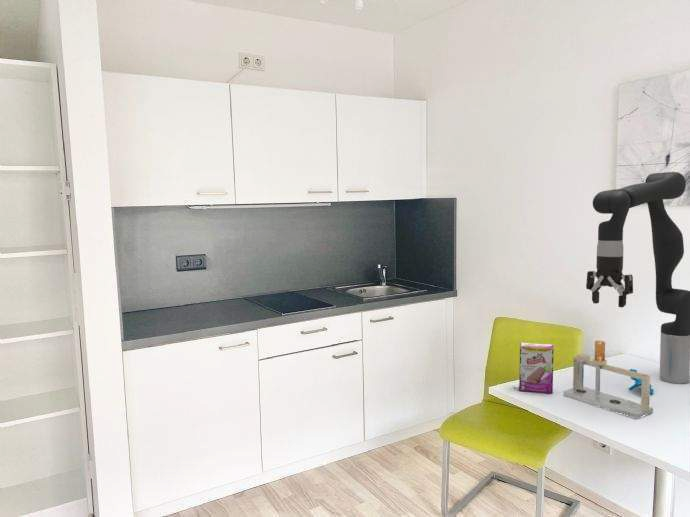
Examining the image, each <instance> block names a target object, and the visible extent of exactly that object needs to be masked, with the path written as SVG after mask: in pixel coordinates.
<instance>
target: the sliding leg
mask: <svg viewBox="0 0 690 517" xmlns="http://www.w3.org/2000/svg"><path fill="white" fill-rule="evenodd" d="M607 360H608V359H606V342H605V341H603V340H594V358H593V359H592V360H591V361H592V363H593V364H596V367H595V387H594V388H595V389H594V390H595V395H600V392H601V369H600V365H604V364H606V365H608V364H607V363H608V361H607Z"/></svg>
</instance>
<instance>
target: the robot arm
mask: <svg viewBox="0 0 690 517" xmlns="http://www.w3.org/2000/svg"><path fill="white" fill-rule="evenodd" d="M686 186H687V182H686V178H685V176H684V175H683V174H682V172H681V173H680V172H678V171H677V172H676V171H668V172H655V173H650V174H648V175H647V176H646V178H645V182H642V183H636V184H630V185H627V186H624V187H621V188H615V189H609V190H608V189H607V190H603V191H602V190H601V191H600V192H598V193H596V195H594V197H593V200H592V207H593V209H594V211H596V212H597V213H599V214H603V215H605V214H606V215H608V214H610V215H611V217H610V219H609V220H605V221H601V222H600V223H599V224H598V230H597V231H598V232H597V245H596V262H595V263H596V265H595V267H596V271H594V270H590V271H587V274H586V287H585V288H586V290H589V291H591V301H592V303H593V304H595V305H596V304H599V303H600V290H601V288H602V287H609V288H613V289H614V290H616V291H617V293H618V303H617V304H618V306H617V307H618V308H625V307H626V305H627V295H632V294H633V293H634V277H633V274H631V273H629V274H623V269H624V242H623V240H624V226H625V224H626V220H627V216H628V213H629V211H630V209H631V208H635V207H638V206H641V205H643V204H647V209H648V213H649V219H650V227H651V228H650V229H651V238H652V240H651V242H652V250H653V256H654V257H653V258H654V259H653V260H654V267H655V269H654V270H655V303H656V304H655V305H656V308H657V309H658V311H660V312H661V313H665V314H668V315H669V314H670V315H675V320H674V321H670V322H664V323H662V324H661V325H660V344H659V345H660V346H659V350H660V351H659V379H660V380H662V381H664V382H668V383H672V384H687V383H690V290H689V289H681V288H674V287H673V285H672V283H673V282H672V281H673V280H672V278H673V274H674V271H675V270H676V268H677V267H678V265H679V264H680V262H681V261H682V259H683V257H684V254H685V247H684V246H685V245H684V237H683V233H682V231H681V229H680V228H679V227H678V225H677V224H676V223H675V222H674V220H673V219H672V218H671V217H670V216H669V214H668V212H667V211H666V207H665V203H664V200H674V199H678V198H680V197H681V196H683V194H684V193H685V191H686V189H687V188H686ZM595 278H597V281H596V282H595ZM622 281H623V282H624V283H623V282H622Z"/></svg>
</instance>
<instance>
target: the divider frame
mask: <svg viewBox="0 0 690 517" xmlns="http://www.w3.org/2000/svg"><path fill="white" fill-rule="evenodd" d="M590 357H591V355H590V354H589V355H588V354H584V353H578V354H576V356H575V357H573V363H572V364H573V366H572V367H573V368H572V369H573V372H572V373H573V375H572V376H573V377H572V378H573V380H572V381H573V384H572V388H569V389H565V390H563V396H565V397H567V396H568V398H570V397H571V398H570V399H573V398H574V399H573V400H576V399H577V400H576V401H579V400H581V401H580V402H582V401H584V402H583V403H585V402H586V404H588V403H590V404H589V405H591V404H593V405H592V406H594V405H596V406H595V407H597V406H600V407H603V408H606V409H609V410H612V411H615V412H618V413H622V414H625V415H628V416H631V417H634V418H636V419H637V418H639V417H641V416H643V415H646V414H648V415H650V414H649V413H651V414H653V413H654V407H651V406H650V396H651V395H650V384H651V375H649V374H646V373H641V372H638V371H637V372H633V371H629V370H630V369H626V368H625V369H624V368H620V367H616V366H613V365H610V364H604V365H600V370H604V371H607V372H612V373H615V374H619V375H623V376H627V377H630V378H631V377H634V378H637V379H641V380H642V390H640V391H641V396H640V398H641V399H640V400H641V401H640V403H638V402H635V401H631V400H628V399H625V398H621V397H619V396H616V395H612V394H609V393H606V392H603V391H600V395H595V389H592V388H589V387H586V386H584V379H585V378H584V374H585V373H584V370H585V369H584V367H585V366H588V367H593V368H596V364H593V363H592V360H590V359H591V358H590ZM600 407H599V408H600ZM603 408H602V409H603ZM606 409H605V410H606ZM609 410H608V411H609ZM612 411H611V412H612ZM615 412H614V413H615ZM652 412H653V413H652ZM618 413H617V414H618ZM646 416H647V415H646ZM641 418H642V417H641ZM636 419H635V420H636ZM639 419H640V418H639ZM637 420H638V419H637Z"/></svg>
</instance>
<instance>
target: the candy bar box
mask: <svg viewBox="0 0 690 517" xmlns="http://www.w3.org/2000/svg"><path fill="white" fill-rule="evenodd" d="M554 350H555V349H554V345H553V344H549V343H548V344H546V343H545V344H544V343H531V342H520V343H519V376H518V377H519V380H518V381H519V384H518V385H519V387H518V388H519V389H518V390H519V392H528V393H529V392H532V393H542V394H553V390H554V387H553V386H554Z"/></svg>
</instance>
